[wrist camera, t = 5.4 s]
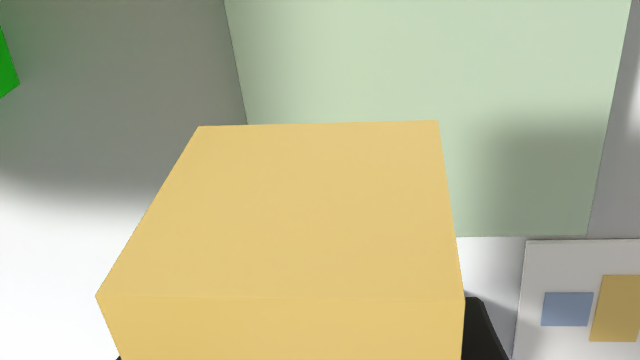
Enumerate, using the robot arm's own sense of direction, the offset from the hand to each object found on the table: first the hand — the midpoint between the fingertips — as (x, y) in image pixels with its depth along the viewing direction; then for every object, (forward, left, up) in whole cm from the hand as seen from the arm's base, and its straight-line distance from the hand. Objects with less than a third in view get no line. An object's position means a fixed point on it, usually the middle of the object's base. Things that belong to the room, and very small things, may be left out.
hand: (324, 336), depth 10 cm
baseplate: (+1, -2, -9) cm, 9 cm away
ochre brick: (0, 0, -1) cm, 1 cm away
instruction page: (-8, -8, -9) cm, 14 cm away
